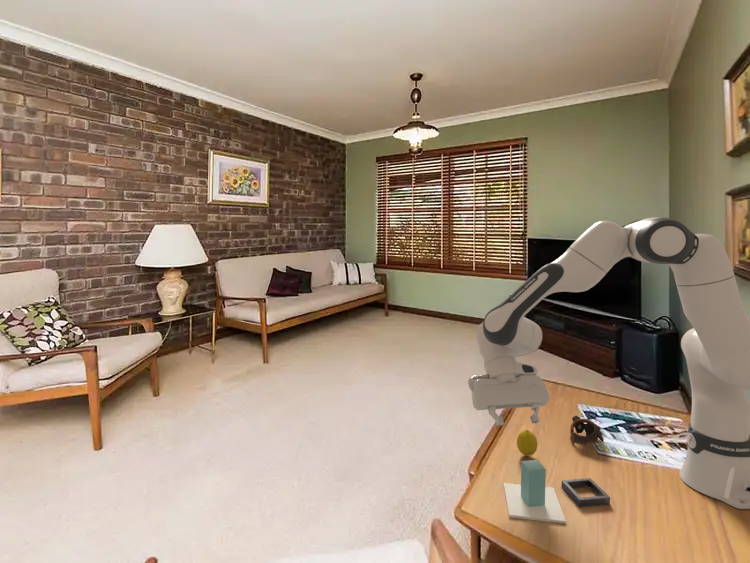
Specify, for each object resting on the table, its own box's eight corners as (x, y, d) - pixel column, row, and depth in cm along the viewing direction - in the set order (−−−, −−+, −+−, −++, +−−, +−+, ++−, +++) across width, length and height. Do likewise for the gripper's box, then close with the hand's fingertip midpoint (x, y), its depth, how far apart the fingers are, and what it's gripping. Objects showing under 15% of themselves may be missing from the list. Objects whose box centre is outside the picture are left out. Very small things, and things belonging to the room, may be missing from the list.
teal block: (536, 494, 98) (537, 459, 96) (544, 505, 94) (545, 469, 93) (520, 495, 97) (521, 461, 96) (528, 506, 93) (529, 470, 92)
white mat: (553, 489, 100) (553, 487, 100) (565, 523, 88) (565, 521, 88) (503, 484, 102) (503, 482, 102) (509, 517, 91) (509, 514, 91)
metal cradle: (589, 484, 102) (590, 478, 101) (609, 504, 94) (610, 497, 94) (561, 487, 101) (561, 480, 101) (579, 507, 93) (579, 500, 93)
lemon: (538, 462, 112) (539, 435, 111) (518, 460, 113) (518, 433, 112) (535, 451, 118) (535, 426, 117) (515, 450, 119) (515, 424, 118)
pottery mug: (613, 449, 119) (607, 430, 116) (585, 463, 119) (578, 445, 116) (587, 421, 130) (581, 404, 127) (561, 434, 130) (554, 417, 127)
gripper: (469, 370, 107) (481, 422, 98) (542, 366, 109) (560, 416, 100) (464, 380, 112) (475, 430, 103) (533, 376, 114) (551, 425, 105)
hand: (518, 423), depth 102 cm, fingers open, 8 cm apart
